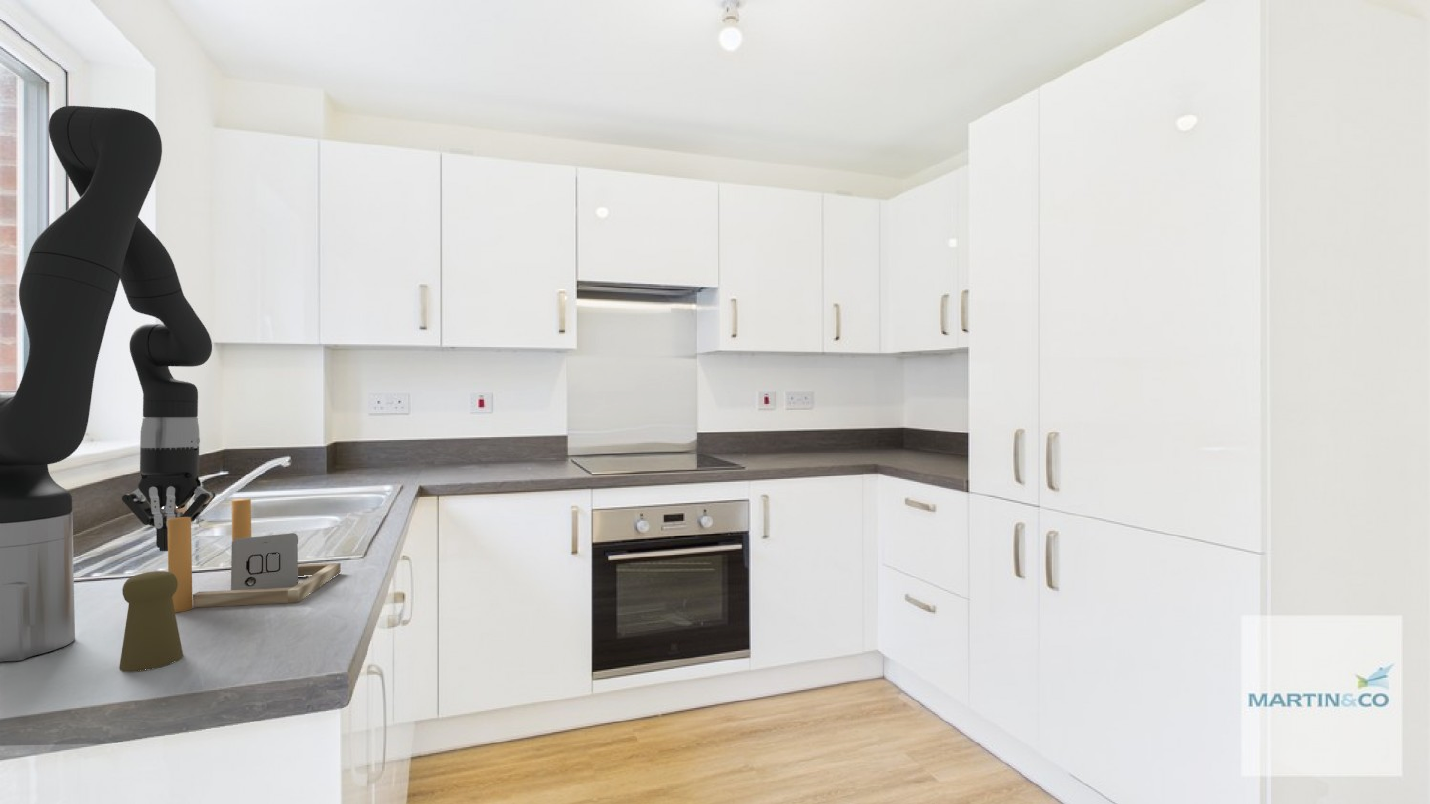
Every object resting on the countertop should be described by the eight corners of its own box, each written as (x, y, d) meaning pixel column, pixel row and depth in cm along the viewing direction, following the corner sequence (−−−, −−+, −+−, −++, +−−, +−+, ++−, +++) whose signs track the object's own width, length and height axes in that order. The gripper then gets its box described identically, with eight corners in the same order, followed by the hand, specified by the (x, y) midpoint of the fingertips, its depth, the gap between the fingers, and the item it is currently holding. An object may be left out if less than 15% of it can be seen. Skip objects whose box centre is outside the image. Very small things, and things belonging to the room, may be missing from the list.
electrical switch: (229, 598, 107) (229, 540, 108) (233, 593, 112) (233, 537, 112) (298, 589, 112) (297, 533, 113) (299, 584, 116) (298, 531, 117)
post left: (185, 612, 100) (183, 520, 100) (164, 613, 100) (162, 520, 100) (196, 606, 103) (195, 516, 103) (176, 607, 103) (175, 517, 102)
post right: (246, 580, 117) (245, 501, 117) (229, 580, 117) (227, 501, 116) (255, 575, 120) (253, 498, 120) (238, 576, 119) (236, 499, 119)
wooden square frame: (298, 602, 105) (297, 589, 105) (193, 607, 102) (192, 594, 102) (340, 573, 121) (340, 562, 121) (250, 577, 119) (250, 566, 119)
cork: (195, 651, 85) (193, 566, 85) (157, 671, 79) (155, 580, 79) (147, 652, 85) (145, 567, 85) (105, 672, 79) (103, 580, 79)
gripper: (107, 446, 104) (106, 556, 104) (201, 445, 106) (200, 553, 106) (140, 443, 111) (138, 547, 111) (227, 443, 114) (226, 544, 114)
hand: (168, 550), depth 109 cm, fingers closed
